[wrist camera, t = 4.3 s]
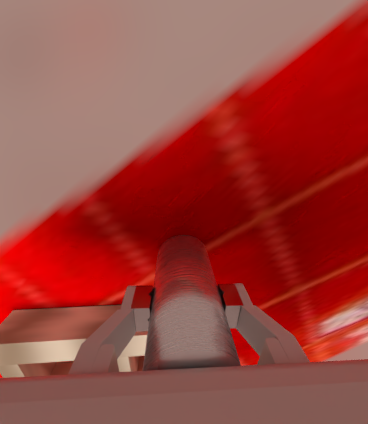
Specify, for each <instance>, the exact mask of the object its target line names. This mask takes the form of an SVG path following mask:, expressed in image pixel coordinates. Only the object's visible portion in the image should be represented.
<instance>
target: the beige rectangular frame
mask: <svg viewBox="0 0 368 424" xmlns="http://www.w3.org/2000/svg"><path fill="white" fill-rule="evenodd" d="M119 309H121V305H107V306H87V307H67V308H47V309H27V310H13V311H12V312H11V313H10V315H9V316H8V317H7V318H6V319H5V320H4V321H3V322H2V323H1V324H0V373H1V375H2V376H3V378H10V377H30V376H50V375H68V373H69V371H70V368H71V366H72V364H73V362H74V359H75V357H76V355H77V353H78V351H79V348H80V346H81V344H82V343H83V342H84V341H85V340H86V339H87V338H88V337H90V336H91V335H92V334H93V333H94V332H95V331H96V330H97V329H98V328H99V327H100V326H101V325H102V324H103V323H104V322H105V321H106V320H107V319H108V318H109V317H110V316H111V315H112V314H114V313H115V312H116V311H117V310H119ZM147 333H148V331H142V332H136V333H135V335H134V336H133V338H132V339H131V340H130V342H129V343H128V345H127V346H126V348H125V349H124V350H123V352H122V353H121V355H120V356H119V357H118V359H117V362H118V367H119V372H130V371H143V364H144V356H145V348H146V341H147ZM139 356H143V357H139ZM61 361H72V362H61ZM57 362H58V363H57Z"/></svg>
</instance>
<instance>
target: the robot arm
mask: <svg viewBox="0 0 368 424" xmlns="http://www.w3.org/2000/svg"><path fill="white" fill-rule="evenodd" d="M217 287H218V290H219V294H220V297H221V300H222V304H223V307H224V311H225V314H226V317H227V321H228V324H229V328H237V330H238V331H239V332H240V333H241V335H242V336H243V337H244V338H245V339H246V341H247V342H248V343H249V344H250V345H251V346H252V348H253V349H254V350H255V351H256V352H257V353H258V355H259V356H260V358H259V361H258V364H257V365H247V366H227V367H208V368H188V369H169V370H150V371H130V372H119V367H118V362H117V359H118V357H119V356H120V355H121V353H122V352H123V350H124V349H125V348H126V346H127V345H128V343H129V342H130V340H131V339H132V338H133V336H134V335H135V333H136V332H142V331H148V325H149V318H150V311H151V302H152V296H153V286H128V287H127V289H126V292H125V296H124V299H123V302H122V305H121V309H119V310H117V311H116V312H115V313H114V314H112V315H111V316H110V317H109V318H108V319H107V320H106V321H105V322H104V323H103V324H102V325H101V326H100V327H99V328H98V329H97V330H96V331H95V332H94V333H93V334H92V335H91V336H90V337H88V338H87V339H86V340H85V341H84V342H83V343H82V344H81V346H80V348H79V351H78V353H77V355H76V357H75V359H74V362H73V364H72V366H71V368H70V371H69V373H68V375H50V376H30V377H10V378H0V424H368V359H365V360H346V361H326V362H310V361H309V360H308V358H307V356H306V355H305V353H304V351H303V350H302V348H301V346H300V345H299V343H298V342H297V340H296V338H295V337H294V336H293V335H292V334H291V333H290V332H288V331H287V330H286V329H285V328H283V327H282V326H281V325H280V324H278V323H277V322H276V321H275V320H273V319H272V318H271V317H270V316H268V315H267V314H266V313H264V312H263V311H262V310H261V309H259V308H258V307H257V306H253V304H252V302H251V300H250V298H249V296H248V294H247V291H246V289H245V287H244V285H243V284H242V283H236V284H218V286H217Z"/></svg>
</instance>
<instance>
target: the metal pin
mask: <svg viewBox="0 0 368 424" xmlns="http://www.w3.org/2000/svg"><path fill="white" fill-rule="evenodd" d="M227 366H241V365H240V361H239V358H238V355H237V351H236V348H235V344H234V341H233V338H232V334H231V331H230V328H229V324H228V321H227V317H226V314H225V311H224V307H223V304H222V300H221V297H220V294H219V290H218V287H217V283H216V280H215V277H214V273H213V270H212V267H211V263H210V260H209V256H208V253H207V250H206V247H205V245H204V244H203V243H202V242H201V241H200V240H199V239H197V238H195V237H193V236H190V235H177V236H174V237H171V238H169V239H167V240H166V241H165V242H164V243H163V244H162V245H161V247H160V248H159V251H158V256H157V264H156V272H155V279H154V287H153V296H152V302H151V311H150V318H149V325H148V333H147V341H146V348H145V356H144V364H143V371H150V370H169V369H188V368H208V367H227Z"/></svg>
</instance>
